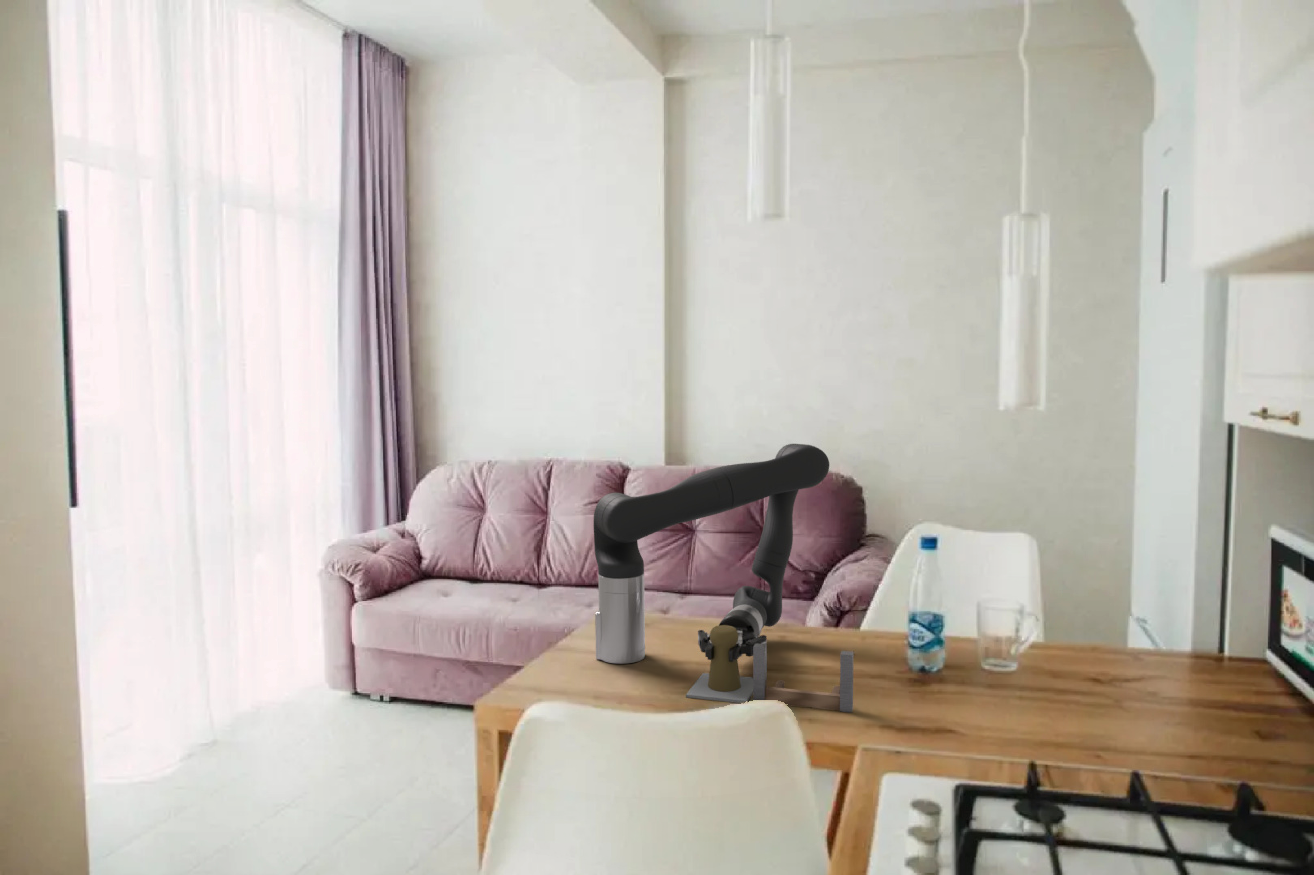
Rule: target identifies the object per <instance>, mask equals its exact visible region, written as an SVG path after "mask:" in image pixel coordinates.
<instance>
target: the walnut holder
mask: <svg viewBox="0 0 1314 875" xmlns="http://www.w3.org/2000/svg"><path fill="white" fill-rule="evenodd" d="M767 648H768V645H767V644H757V643H756V644H755V645H754V646H753V656H752V658H753V659H752V666H753V667H752V670H753V671H752V674H753V675H752V678H753V694H752V696H753V697H752V698H753V700H778V701H781V702H784V703H785V704H788V705H787V706H791V705H792V707H800V706H802V707H803V706H804V707H803V708H810V707H812V709H819V710H829V709H833V710H832V711H838V710H839V712H842V713H851V714H852V713H853V710H854V651H851V650H849V651H848V650H841V652H840V655H839V656H840V657H839V660H840V661H839V662H840V664H839V667H840V668H839V669H840V672H839V677H840V679H839V685H833V688H832V690H831V692H824V691H813V690H806V689H805V690H804V689H793V688H785V680H781V679H778V680H777V681H776V683H775V684H774V686H768V679H767V678H768V676H767V674H768V671H767V670H768V665H767V664H768V663H767V662H768V659H767V658H768V656H767V655H768V654H767V652H768V649H767ZM753 700H752V701H753ZM802 707H801V708H802Z"/></svg>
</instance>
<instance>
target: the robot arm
mask: <svg viewBox="0 0 1314 875" xmlns="http://www.w3.org/2000/svg"><path fill="white" fill-rule="evenodd" d="M829 470H830V460H829V458H828V456H827V454H826V453H825V451H823V450H822V449H820V448H819V447H817V446H814V445H811V444H805V443H804V444H803V443H789V444H786V445H783V446H782V447H781V448H780V449H779V450H778V452H777V453H776V456H775V458H772V459H769V460H765V461H755V462H743V463H735V464H728V465H727V464H726V465H723V466H722V465H721V466H718V467H715V468H711V469H710V468H709V469H707V470H704V471H701V472H697V473H694V474H693V475H690V476H687V478H685V479H683V480H682V481H681V482H679V483H677V484H675V485H673V486H672V487H670V488H668V489H665V490H662V491H659V492H654V493H650V494H645V495H638V496H631V495H627V494H625V493H621V492H610V493H607V494H605V495H603V497H601V499H600V500H599V501H598V502H597V504H596V505H595V508H594V512H593V540H594V545H593V546H594V556H595V560H596V564H597V568H598V569H597V571H598V572H597V574H598V610H597V611H596V612H595V616H594V617H595V619H594V620H595V626H594V627H595V659H596V660H599V661H600V660H601V661H603V662H606V663H608V664H609V663H610V664H616V665H617V664H620V665H623V664H632V663H636V662H640V661H642V660H643V659H645V657H646V642H645V640H646V639H645V638H646V635H645V634H646V631H645V630H646V626H645V625H646V624H645V621H646V619H645V615H646V614H645V613H646V612H645V611H646V610H645V560H644V559H643V557H642V554H641V552H640V549H639V544H638V541H639V540H641V539H643V538H646V537H648V536H651V535H652V534H655V533H657V532H660V531H662V530H664V529H666V528H669V527H671V526H676V525H679V524H682V523H683V524H684V523H688V522H691V521H695V520H698V519H703V518H706V517H710V516H715V515H717V514H720V513H721V514H722V513H725V512H728V511H732V510H734V509H737V508H739V507H742V506H746V505H749V504H751V503H755V502H758V501H760V500H763V499H765V498H768V502H767V507H766V514H765V519H764V522H763V523H764V525H763V527H762V533H761V535H760V539H759V542H758V545H757V548H756V551H755V555H754V559H753V562H752V565H751V572H752V574H753V575H755V576H756V577H758V578H760V579H762V580H763V581H765V582H767V584H768V587H769V591H767V590H764V589H760V588H756V587H755V586H751V585H743V586H741V587H739V588H738V589H737V591H736V592H735V593H734V597H733V601H732V609H731V610H730V611H729V612H728V613H726V615H724V617H723V619H722V620H721V621H720V623H719V624H718V626H719V625H728V626H732V627H734V628H736V630H737V632H738V641H737V643H736V645H735V646H734V647H731V648H730V650H729V662H734V660H737V661H738V659H739V658H740V657H742V656H743V655H745V656H746V657H749V658H751V657H753V646H754V645H755V644H756V643H757V644H767V643H768V642H767V641H768V640H767V635H765V634H762V635H761V633H762V630H763V628H764V627H774V626H775V625H776V624H778V623H779V621H780V619H781V617H782V612H783V587H784V586H783V584H784V577H785V573H786V569H787V565H788V563H789V560H790V556H791V552H792V547H793V541H794V530H793V528H794V525H793V524H794V522H793V520H794V519H793V514H794V506H795V502H796V501H795V500H796V497H797V495H798V493H799V490H803V489H810V488H814V487H816V486H818V485H819V484H820V483H822V482H823V481H824V480H825V478H826V477H827V475H828V472H829ZM697 644H698V648H700V651H701V652H702V653H704V656H705V658H707V660H708V661H711V660H712V659H713V650H714V646H713V644H712V643H711V641H710V633H708V631H707V632H705V630H704V629H699V630H697Z"/></svg>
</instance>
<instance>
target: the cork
mask: <svg viewBox="0 0 1314 875" xmlns="http://www.w3.org/2000/svg"><path fill="white" fill-rule="evenodd" d="M709 634H710V641H711V643H712V644H713V646H714V650H713V659H712V660H710V666H709V672H708V673H709V680H708V687H709V688H710V689H713V690H716V691H724V692H726V691H734V690H737V689H739V688H740V687H741V683H740V676H741V675H740V670H739V663H738V661H739V660H738V659H737V660H734V662H729V650H730V648H731V647H734V646H735V645H736V643H737V641H738V632H737V630H736V628H734V627H732V626H728V625H719V624H718V625H716V626H713V627H712V628H711V630H710V632H709Z"/></svg>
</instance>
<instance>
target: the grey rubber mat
mask: <svg viewBox="0 0 1314 875" xmlns="http://www.w3.org/2000/svg"><path fill="white" fill-rule="evenodd" d="M708 680H709V672H702V673H701V675H700V676H699V677H698V678H697V680H696V681H695V682H694V683H693V685H691V687H690V689H689V691H687V693H686V694H685V698H688V699H697V700H698V699H699V700H706V701H707V700H709V701H718V702H725V703H726V702H727V703H737V704H741V703H740V702H746V701H748V702H749V700H750V699H751V697H752V696H753V676H741V675H740V683H741V687H740V688H739V689H737V690H734V691H726V692H724V691H716V690H713V689H710V688H709V687H708ZM732 701H733V702H732Z"/></svg>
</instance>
